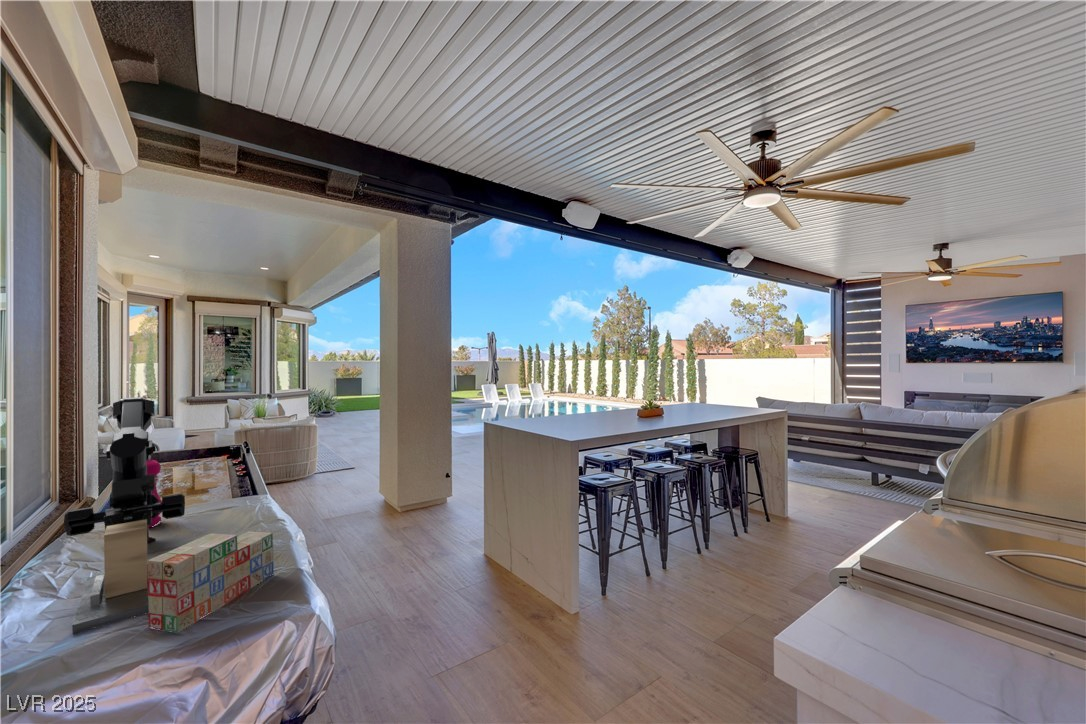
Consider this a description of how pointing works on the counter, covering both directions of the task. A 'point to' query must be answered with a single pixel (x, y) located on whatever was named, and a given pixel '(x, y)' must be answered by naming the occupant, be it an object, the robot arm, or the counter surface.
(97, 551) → the counter surface
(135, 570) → the oak block
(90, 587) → the chute
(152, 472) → the pepper mill
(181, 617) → the stack of blocks
